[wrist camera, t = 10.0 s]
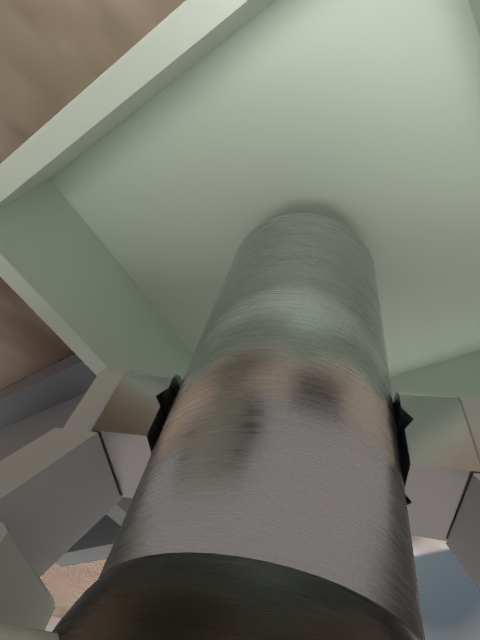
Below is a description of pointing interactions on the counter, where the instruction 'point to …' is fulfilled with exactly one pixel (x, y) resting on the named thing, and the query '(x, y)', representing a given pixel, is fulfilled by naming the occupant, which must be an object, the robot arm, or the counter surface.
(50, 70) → the counter surface
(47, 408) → the socket block
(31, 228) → the bin
